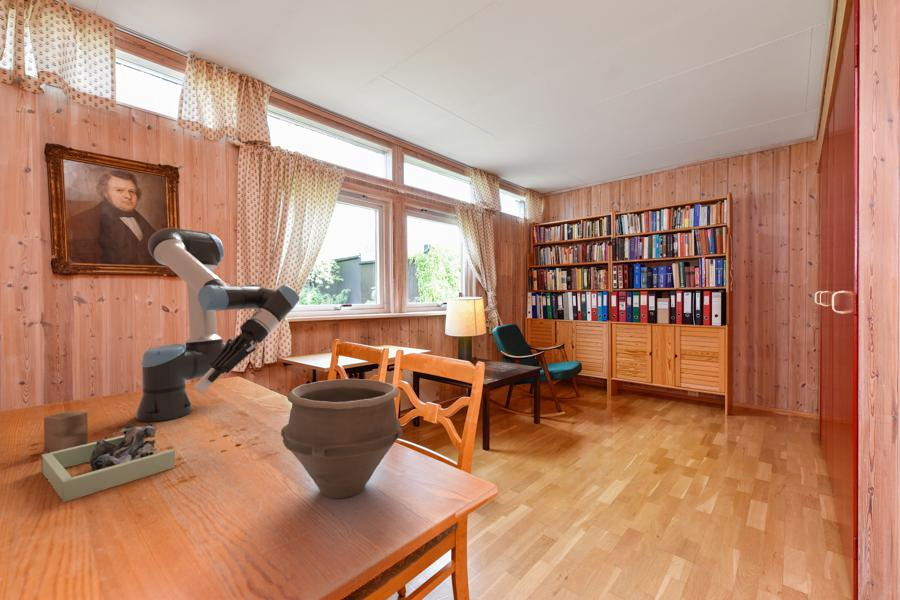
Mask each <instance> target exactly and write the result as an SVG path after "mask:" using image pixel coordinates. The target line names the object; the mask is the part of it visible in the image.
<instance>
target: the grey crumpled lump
mask: <svg viewBox="0 0 900 600" xmlns="http://www.w3.org/2000/svg"><path fill="white" fill-rule="evenodd" d="M157 429H158V427H157V426H155V425H152V424H151V423H149V422H147V423H146V424H144V425H139V426H135V425H132V424H131V422H128V423H127V424H126V425H124V426H123V427H122V428H121V430H117V431H115V430H116V428H112V429H111V428H110V429H108V431H113V432H114V433H113V432H112V433H111V434H110V435H108V436H105V437H103V438H101V439H100V440H98V441H96V442H97V444H98V445H97V444H96V446H97V447H96V446H95V447H96V449H95V448H94V449H95V450H94V451H93V452H92V454H91V457H90V461H89V464H90V468H91V472H93V471H96V470H100V469H102V467H104V468H107V467H108V466H109V465H110V464H111V463H113V464H114V465H118V464H121V463H125V462H128V461H132V460H136V459H139V458H143V457H146V456H150V455H151V454H150V453H152V452H154V451H156V450H158V448H154V447H155V444H156V439H153V440H146V439H148V438H154V437H156V435H155V434H156V430H157ZM120 433H123V435H125V436H124V438H123V440H122V442H121V443H120V444H119V445H118V446H116V445H114V444H111V443H109V442H107V441H104V440H106V439H109V438H111V436H113V435H116V434H120ZM144 439H145V442H144ZM132 441H133V442H132ZM130 442H132V443H133V444H132V445H130V446H129V447H127V445H128V444H129V443H130ZM128 448H129V449H128ZM127 449H128V450H127ZM125 450H126V451H125ZM124 451H125V452H124ZM121 452H123V453H121ZM117 453H119V454H117Z"/></svg>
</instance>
